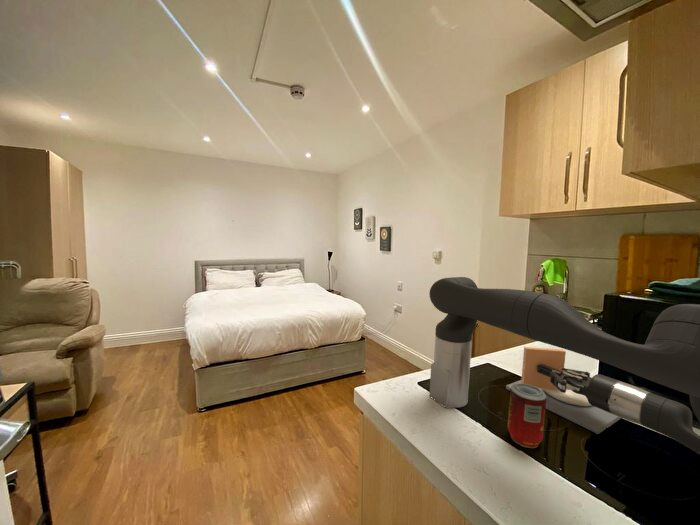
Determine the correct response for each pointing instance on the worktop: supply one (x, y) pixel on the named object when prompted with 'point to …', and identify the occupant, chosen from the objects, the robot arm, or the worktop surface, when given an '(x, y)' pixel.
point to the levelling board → (579, 413)
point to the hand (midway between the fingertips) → (538, 367)
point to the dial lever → (532, 377)
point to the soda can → (526, 415)
